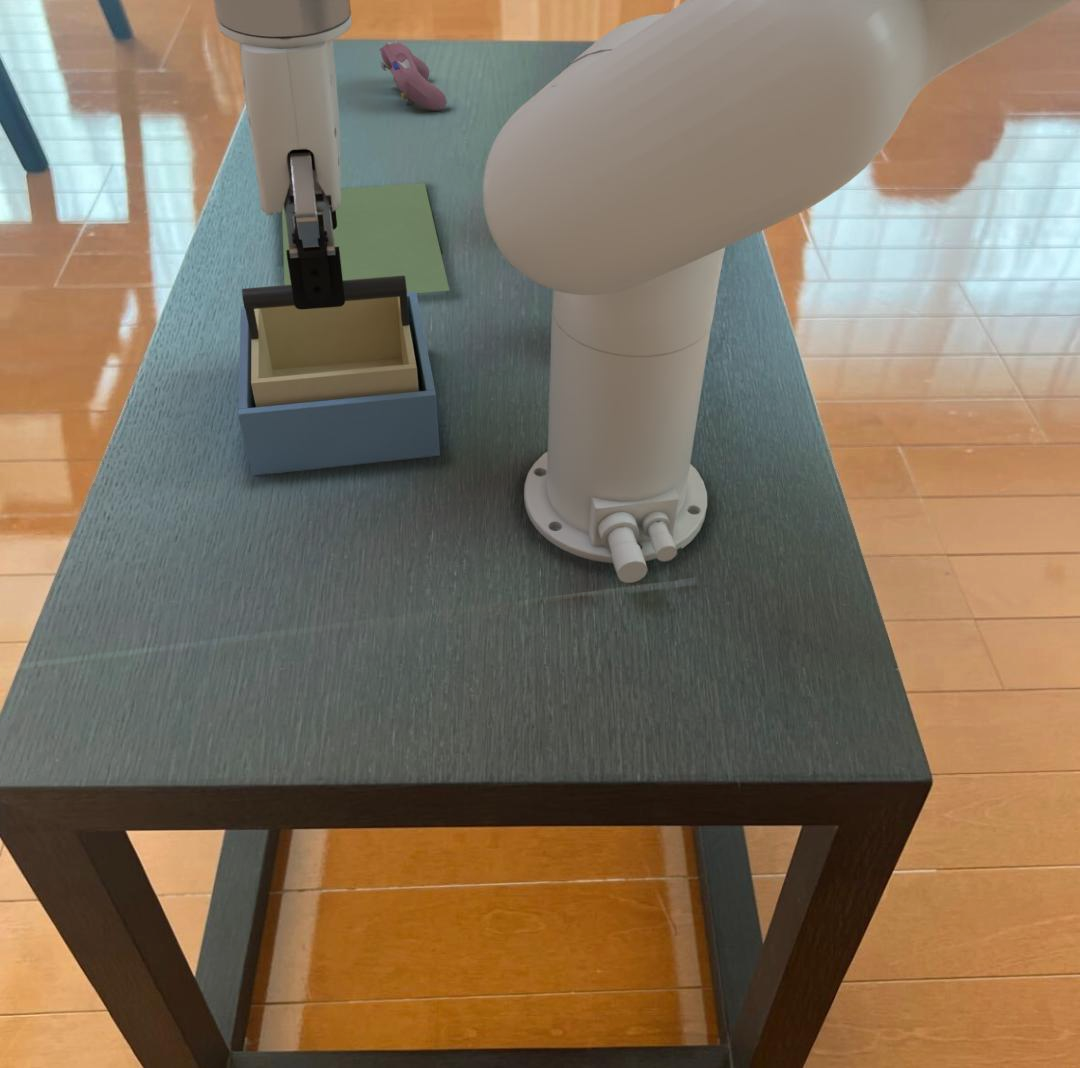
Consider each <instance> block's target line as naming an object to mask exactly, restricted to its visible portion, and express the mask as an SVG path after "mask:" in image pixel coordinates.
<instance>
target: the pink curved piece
mask: <svg viewBox="0 0 1080 1068" xmlns="http://www.w3.org/2000/svg"><path fill="white" fill-rule="evenodd" d="M379 51H380V55H381V58H382V59H381V60H379V66H380V68H381V69H382V70H383V71H385V72H387V70H388V71H390V73H391V76H392V78H393V81H394V83H395V85H396V87H397V88H398V90H399V91H401V94H400V96H401V98H402V99H403V100H404V101H405V100H407V102H408V103H409V104H410V105H413V104H415V103H416V104H417V105H418V106H420V107H423V108H425V109H428V110H430V111H435V112H438V111H443V110H444V109H445V107H446V106H447V102H448V101H447V97H446V95H445V93H444V92H443V91H442V90H441V89H440V88H439V87H437V86H436V85H434V84H433V83H431V82H430V81H429V80H428V79H429V78H430V69H429V66H428V65H427V64H426V62H424V60H422V59H421V58H419V57H417V56H416V55H414V54H413V52H412V51H411V49H410V48H409V47H407V46H406V45H404V44H402V43H401V42H398V41H397V38H395V40H394V41H393V42H390V41H388V42H387V43H386V44H384V45H383V46H382V47H380V48H379Z"/></svg>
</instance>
